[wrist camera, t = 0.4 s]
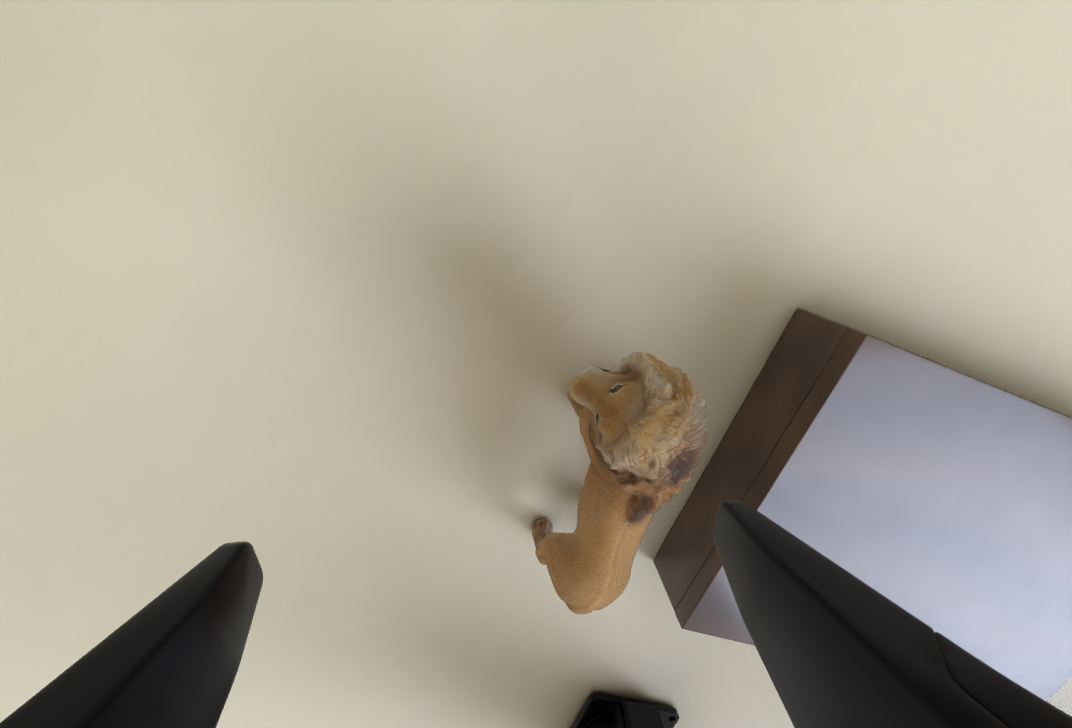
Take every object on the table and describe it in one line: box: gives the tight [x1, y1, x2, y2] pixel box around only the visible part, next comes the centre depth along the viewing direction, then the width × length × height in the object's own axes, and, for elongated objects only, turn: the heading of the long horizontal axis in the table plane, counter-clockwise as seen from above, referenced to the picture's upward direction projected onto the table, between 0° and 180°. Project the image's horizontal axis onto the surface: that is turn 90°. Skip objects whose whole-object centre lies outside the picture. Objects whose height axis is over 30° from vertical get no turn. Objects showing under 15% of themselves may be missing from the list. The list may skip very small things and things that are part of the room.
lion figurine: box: [532, 352, 706, 614], centre depth 20 cm, size 15×5×9 cm, turn 175°
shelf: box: [654, 308, 1072, 701], centre depth 25 cm, size 16×24×4 cm, turn 69°
